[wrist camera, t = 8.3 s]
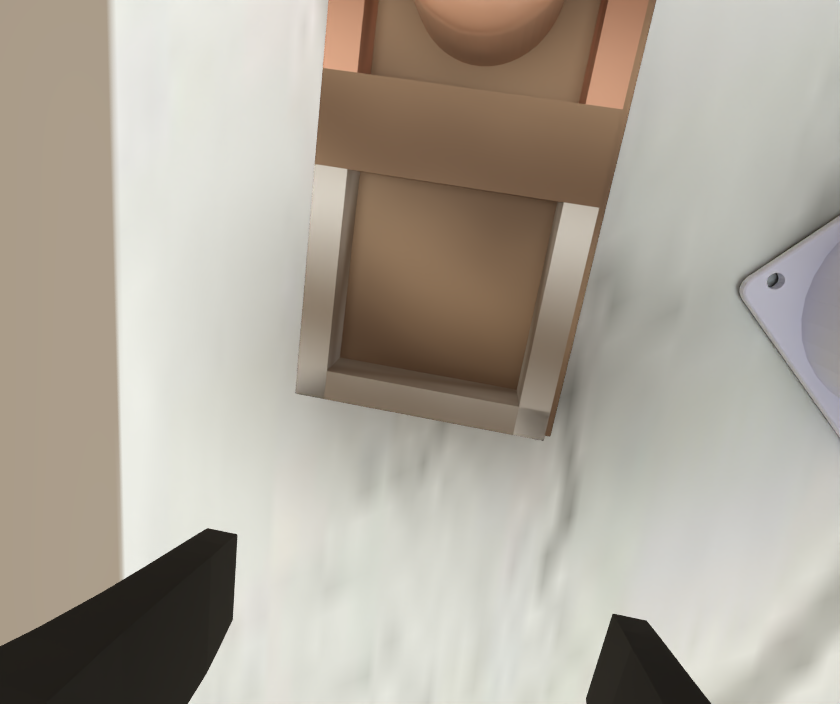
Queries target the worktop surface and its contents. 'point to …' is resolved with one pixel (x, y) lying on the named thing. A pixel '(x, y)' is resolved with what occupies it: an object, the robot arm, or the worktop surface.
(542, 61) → the tray
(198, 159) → the worktop surface
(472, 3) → the tube
